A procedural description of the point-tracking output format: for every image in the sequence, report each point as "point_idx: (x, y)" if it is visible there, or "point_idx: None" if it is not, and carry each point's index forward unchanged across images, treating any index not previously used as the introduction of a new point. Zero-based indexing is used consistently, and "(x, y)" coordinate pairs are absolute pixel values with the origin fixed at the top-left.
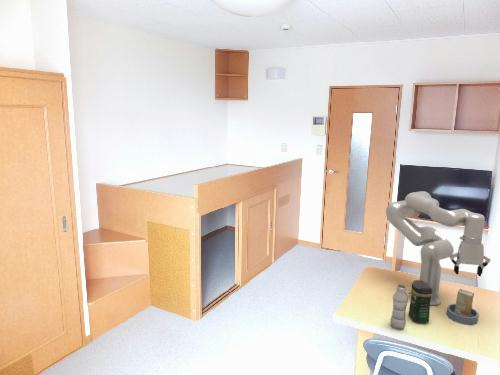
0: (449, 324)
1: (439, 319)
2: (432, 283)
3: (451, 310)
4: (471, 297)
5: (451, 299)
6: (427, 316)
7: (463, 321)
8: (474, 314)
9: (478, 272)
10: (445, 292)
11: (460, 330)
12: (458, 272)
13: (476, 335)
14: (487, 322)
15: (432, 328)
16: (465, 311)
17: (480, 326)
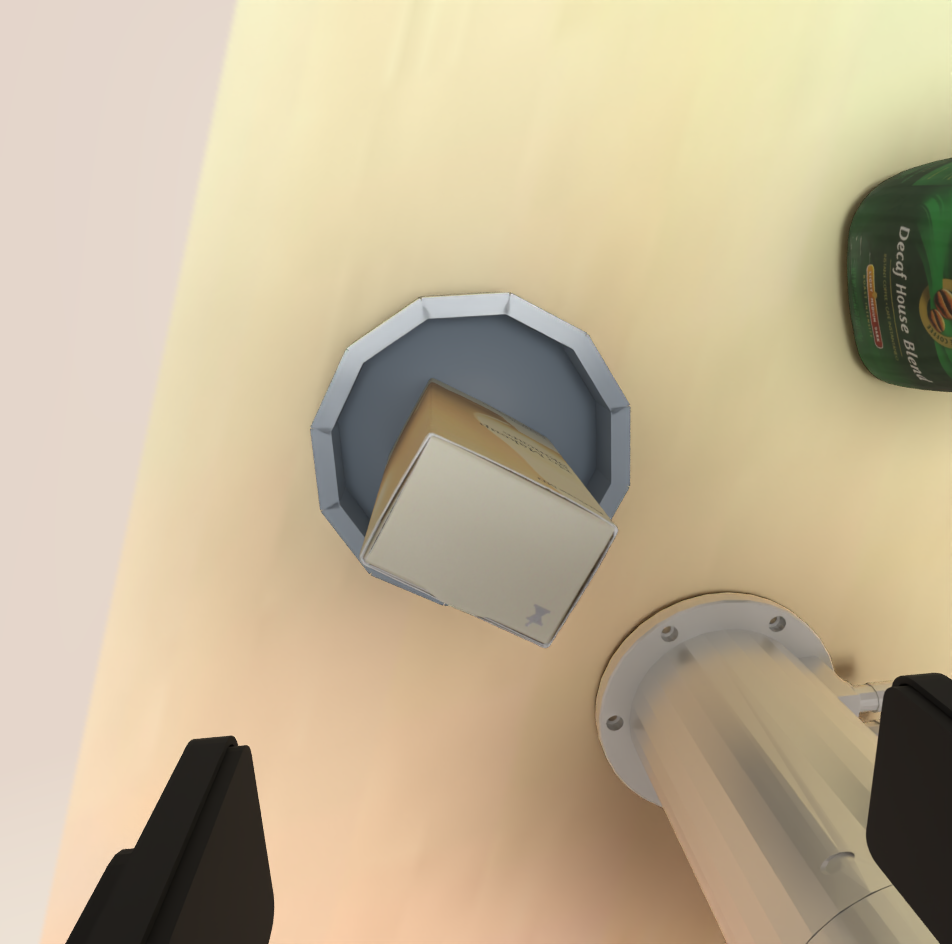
0: (635, 249)
1: (707, 330)
2: (848, 773)
3: None
4: (428, 429)
5: (476, 773)
6: (935, 174)
7: (497, 292)
8: (342, 476)
9: (235, 890)
10: (498, 888)
11: (556, 146)
12: (937, 715)
13: (414, 78)
14: (230, 405)
15: (836, 109)
16: (465, 403)
17: (323, 296)
